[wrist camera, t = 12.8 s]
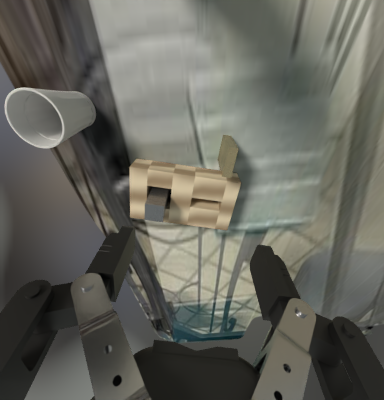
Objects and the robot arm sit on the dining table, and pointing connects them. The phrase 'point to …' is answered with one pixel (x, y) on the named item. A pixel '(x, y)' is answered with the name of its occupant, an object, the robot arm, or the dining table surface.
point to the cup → (48, 115)
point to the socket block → (185, 193)
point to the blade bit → (227, 156)
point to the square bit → (156, 204)
